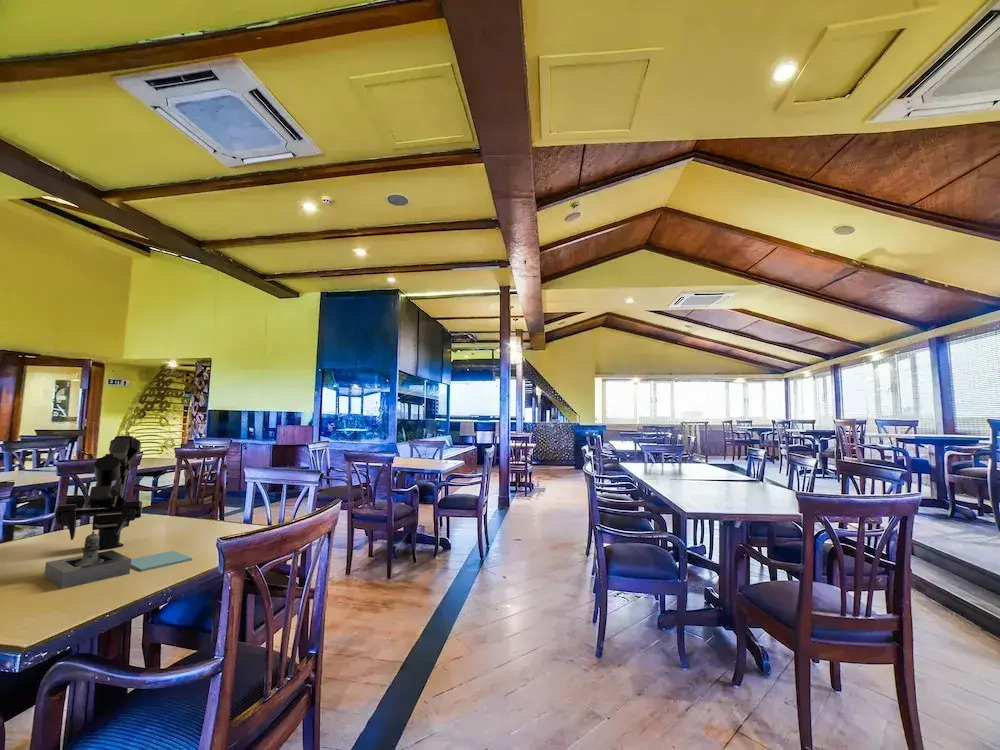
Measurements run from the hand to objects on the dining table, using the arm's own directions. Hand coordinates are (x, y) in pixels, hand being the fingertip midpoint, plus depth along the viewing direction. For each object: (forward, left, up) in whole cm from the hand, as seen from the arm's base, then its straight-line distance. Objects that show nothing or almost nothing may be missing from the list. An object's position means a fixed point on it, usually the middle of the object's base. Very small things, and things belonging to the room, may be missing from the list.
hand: (94, 537), depth 122 cm
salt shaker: (+2, -1, -10) cm, 10 cm away
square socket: (+2, -1, -10) cm, 10 cm away
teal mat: (+3, +15, -10) cm, 18 cm away
